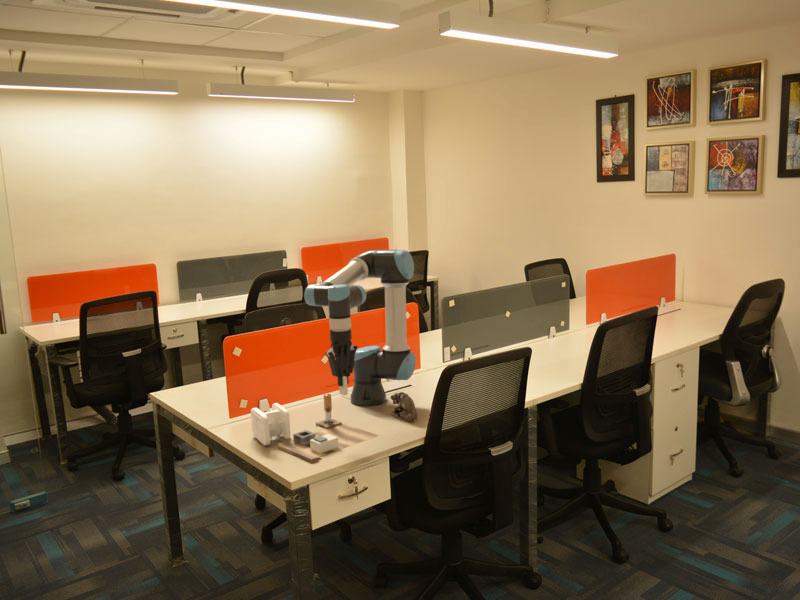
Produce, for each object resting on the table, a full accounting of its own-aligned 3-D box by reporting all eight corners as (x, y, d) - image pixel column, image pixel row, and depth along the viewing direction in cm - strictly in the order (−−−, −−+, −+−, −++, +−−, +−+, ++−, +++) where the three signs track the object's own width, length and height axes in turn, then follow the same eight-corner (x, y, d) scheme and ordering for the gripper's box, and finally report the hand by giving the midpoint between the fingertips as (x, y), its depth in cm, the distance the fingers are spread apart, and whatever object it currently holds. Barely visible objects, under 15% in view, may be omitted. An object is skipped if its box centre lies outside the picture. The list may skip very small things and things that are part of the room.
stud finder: (328, 443, 244) (328, 432, 243) (338, 447, 240) (337, 435, 239) (310, 449, 239) (309, 438, 238) (319, 453, 235) (319, 442, 234)
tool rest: (330, 423, 268) (330, 418, 268) (341, 427, 263) (341, 422, 263) (316, 427, 264) (315, 422, 263) (327, 432, 259) (327, 427, 258)
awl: (329, 425, 265) (328, 393, 263) (334, 427, 263) (332, 394, 261) (323, 427, 264) (322, 395, 261) (328, 429, 262) (326, 396, 259)
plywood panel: (344, 426, 265) (343, 415, 264) (378, 438, 250) (378, 427, 250) (278, 447, 244) (277, 436, 244) (311, 462, 230) (310, 451, 229)
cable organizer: (292, 442, 249) (290, 411, 247) (264, 449, 244) (262, 417, 242) (277, 430, 262) (276, 401, 260) (250, 436, 257) (248, 406, 255)
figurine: (402, 411, 279) (402, 388, 278) (421, 421, 267) (420, 397, 265) (389, 414, 276) (388, 390, 275) (407, 424, 264) (406, 399, 262)
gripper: (348, 324, 247) (351, 387, 251) (319, 330, 239) (322, 396, 243) (361, 327, 242) (364, 391, 246) (332, 333, 233) (335, 400, 237)
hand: (343, 394), depth 244 cm, fingers closed
